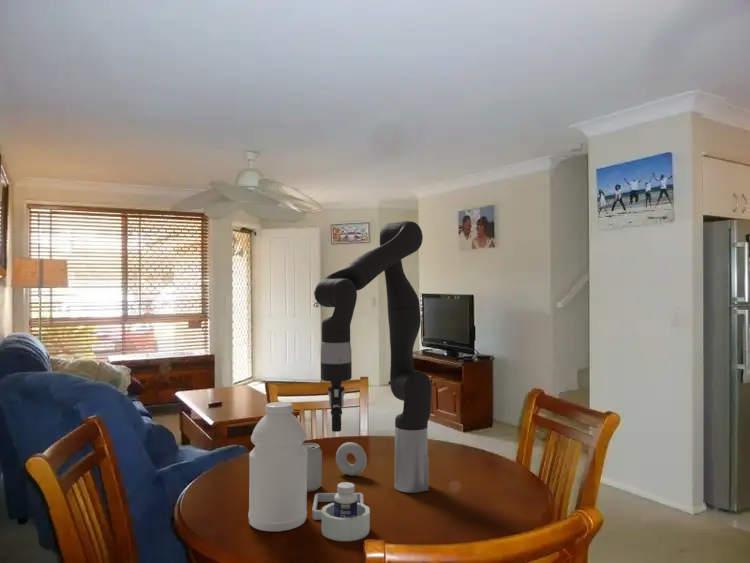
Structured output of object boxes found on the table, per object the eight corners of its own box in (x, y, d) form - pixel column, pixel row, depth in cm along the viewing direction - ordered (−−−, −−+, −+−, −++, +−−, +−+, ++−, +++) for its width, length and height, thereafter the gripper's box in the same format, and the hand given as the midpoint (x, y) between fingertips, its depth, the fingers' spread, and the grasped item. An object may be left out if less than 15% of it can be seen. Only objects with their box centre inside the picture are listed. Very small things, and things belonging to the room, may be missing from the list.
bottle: (254, 536, 128) (256, 411, 129) (242, 514, 141) (244, 400, 141) (314, 527, 134) (315, 407, 134) (298, 506, 146) (299, 397, 147)
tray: (362, 500, 151) (363, 492, 151) (363, 519, 138) (363, 511, 138) (315, 500, 151) (315, 493, 151) (311, 519, 138) (311, 511, 138)
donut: (333, 475, 172) (333, 441, 172) (338, 471, 175) (338, 439, 175) (363, 479, 168) (364, 445, 168) (368, 476, 171) (368, 442, 171)
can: (316, 493, 156) (317, 449, 156) (290, 491, 157) (291, 447, 157) (324, 484, 163) (325, 442, 163) (299, 482, 165) (300, 441, 165)
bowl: (368, 521, 137) (368, 501, 137) (370, 541, 126) (370, 519, 126) (323, 521, 137) (323, 501, 137) (320, 541, 126) (320, 519, 126)
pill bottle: (339, 534, 128) (339, 490, 128) (330, 525, 133) (330, 483, 133) (360, 529, 130) (361, 486, 131) (351, 521, 135) (351, 479, 135)
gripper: (352, 364, 132) (352, 434, 132) (350, 356, 146) (351, 419, 146) (319, 364, 132) (320, 434, 131) (321, 357, 146) (321, 420, 146)
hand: (336, 426), depth 139 cm, fingers open, 8 cm apart
